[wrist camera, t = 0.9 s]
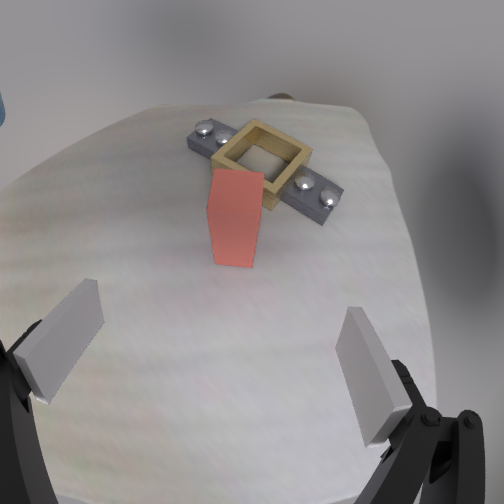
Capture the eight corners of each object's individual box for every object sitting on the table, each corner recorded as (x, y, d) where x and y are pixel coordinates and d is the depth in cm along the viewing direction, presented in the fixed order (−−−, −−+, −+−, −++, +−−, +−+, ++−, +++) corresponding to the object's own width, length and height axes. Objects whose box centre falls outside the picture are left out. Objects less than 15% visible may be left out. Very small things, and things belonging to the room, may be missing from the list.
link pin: (215, 263, 31) (206, 209, 21) (219, 231, 32) (214, 168, 22) (252, 267, 31) (260, 215, 21) (255, 234, 32) (264, 172, 22)
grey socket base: (177, 155, 36) (173, 137, 33) (218, 120, 40) (218, 103, 36) (315, 238, 33) (324, 224, 29) (346, 190, 36) (355, 174, 33)
